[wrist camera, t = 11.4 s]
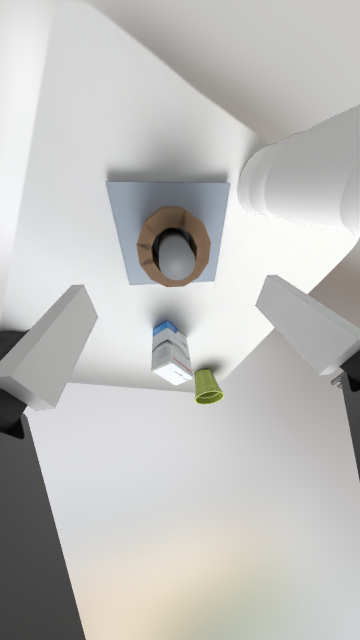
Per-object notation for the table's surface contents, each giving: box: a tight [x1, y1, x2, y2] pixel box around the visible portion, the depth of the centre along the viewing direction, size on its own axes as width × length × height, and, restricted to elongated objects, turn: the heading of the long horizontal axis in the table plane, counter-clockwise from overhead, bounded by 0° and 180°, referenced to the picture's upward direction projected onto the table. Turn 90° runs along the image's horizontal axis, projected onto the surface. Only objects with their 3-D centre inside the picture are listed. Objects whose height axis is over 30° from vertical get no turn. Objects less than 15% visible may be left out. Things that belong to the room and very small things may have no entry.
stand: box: [106, 182, 230, 285], centre depth 21 cm, size 16×14×11 cm
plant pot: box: [195, 369, 224, 405], centre depth 50 cm, size 9×9×9 cm
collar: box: [136, 206, 211, 287], centre depth 21 cm, size 9×9×6 cm
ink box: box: [151, 321, 193, 385], centre depth 34 cm, size 8×5×12 cm, turn 34°
